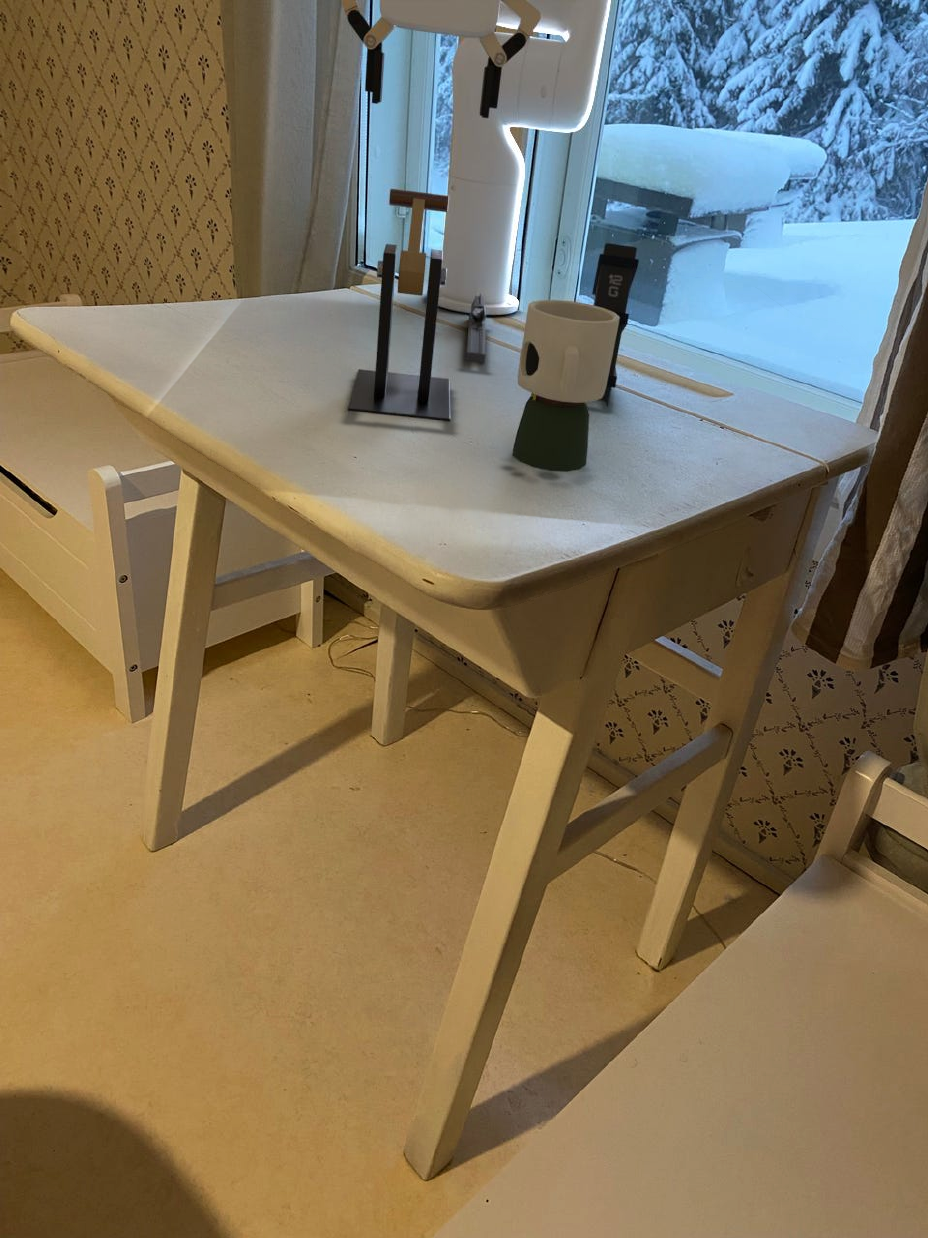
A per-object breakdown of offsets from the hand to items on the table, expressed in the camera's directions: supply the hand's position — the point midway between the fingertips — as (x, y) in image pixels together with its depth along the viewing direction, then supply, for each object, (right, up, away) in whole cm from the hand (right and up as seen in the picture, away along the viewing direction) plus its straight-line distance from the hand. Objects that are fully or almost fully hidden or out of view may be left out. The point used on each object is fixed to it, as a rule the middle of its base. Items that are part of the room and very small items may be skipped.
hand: (430, 109), depth 83 cm
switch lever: (-2, -12, +2) cm, 12 cm away
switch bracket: (-3, -25, +4) cm, 26 cm away
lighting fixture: (+4, -14, +25) cm, 29 cm away
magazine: (+17, -21, +16) cm, 31 cm away
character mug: (+10, -33, -5) cm, 35 cm away
